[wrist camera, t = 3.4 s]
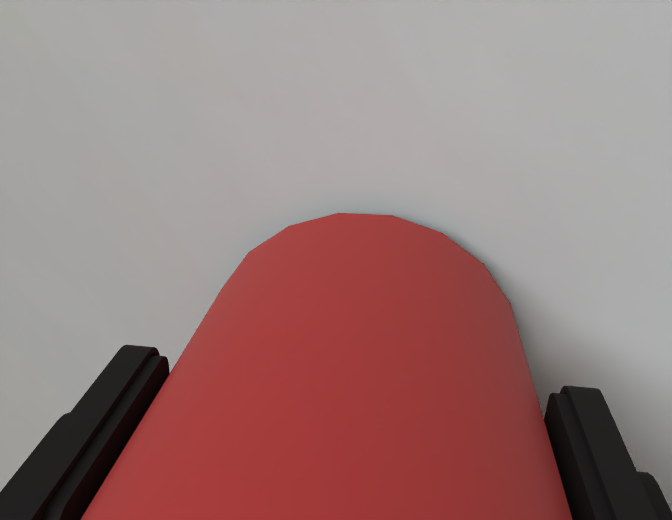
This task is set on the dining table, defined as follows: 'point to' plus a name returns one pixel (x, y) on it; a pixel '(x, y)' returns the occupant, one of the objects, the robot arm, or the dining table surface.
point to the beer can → (345, 392)
